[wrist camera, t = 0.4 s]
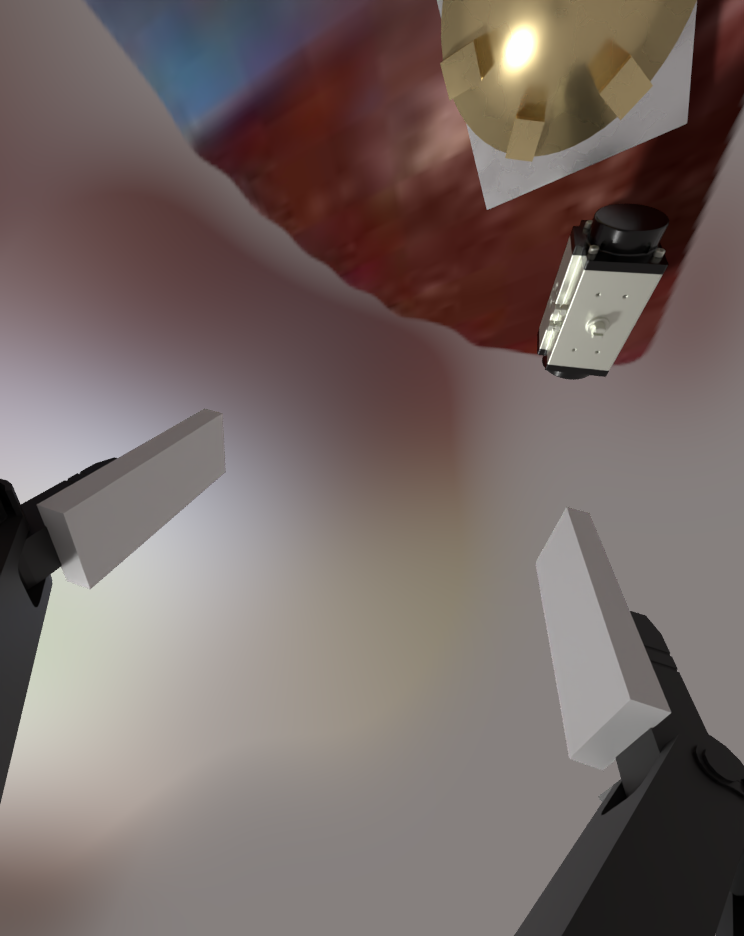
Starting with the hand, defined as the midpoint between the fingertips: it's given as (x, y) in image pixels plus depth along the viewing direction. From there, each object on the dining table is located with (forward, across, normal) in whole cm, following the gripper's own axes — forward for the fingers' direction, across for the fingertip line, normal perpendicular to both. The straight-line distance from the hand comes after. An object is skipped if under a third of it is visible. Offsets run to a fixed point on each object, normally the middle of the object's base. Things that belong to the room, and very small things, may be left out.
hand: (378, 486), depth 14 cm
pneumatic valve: (+30, +10, +9) cm, 33 cm away
